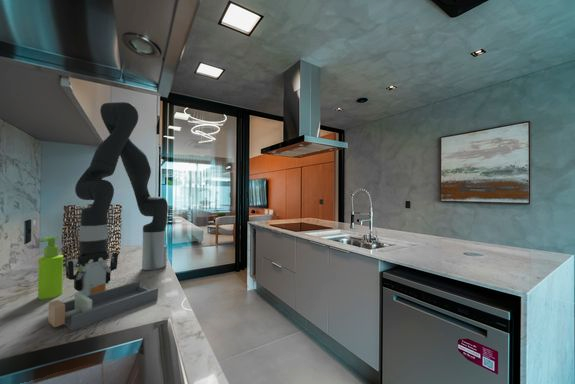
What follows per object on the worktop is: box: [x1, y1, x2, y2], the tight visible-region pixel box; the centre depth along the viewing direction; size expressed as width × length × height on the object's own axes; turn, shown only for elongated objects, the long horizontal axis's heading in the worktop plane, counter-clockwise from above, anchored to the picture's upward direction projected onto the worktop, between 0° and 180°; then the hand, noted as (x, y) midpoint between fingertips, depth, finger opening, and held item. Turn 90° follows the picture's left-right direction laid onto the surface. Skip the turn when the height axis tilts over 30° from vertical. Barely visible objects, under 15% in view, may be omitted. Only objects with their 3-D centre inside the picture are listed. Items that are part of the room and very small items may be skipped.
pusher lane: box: [63, 280, 159, 332], centre depth 73 cm, size 22×12×4 cm, turn 148°
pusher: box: [47, 291, 92, 328], centre depth 64 cm, size 7×10×5 cm
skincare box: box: [78, 259, 108, 296], centre depth 80 cm, size 6×4×12 cm
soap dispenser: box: [37, 236, 64, 300], centre depth 80 cm, size 6×7×20 cm
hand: (92, 286), depth 80 cm, fingers closed on skincare box, 7 cm apart
